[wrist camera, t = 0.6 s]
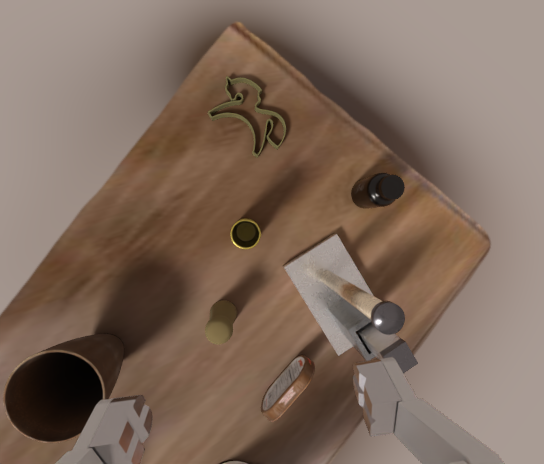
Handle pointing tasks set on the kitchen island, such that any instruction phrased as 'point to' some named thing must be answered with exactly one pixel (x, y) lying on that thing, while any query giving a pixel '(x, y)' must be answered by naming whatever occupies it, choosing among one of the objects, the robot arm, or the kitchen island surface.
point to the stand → (341, 296)
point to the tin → (287, 387)
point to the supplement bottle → (377, 190)
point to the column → (387, 346)
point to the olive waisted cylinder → (221, 322)
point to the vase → (245, 233)
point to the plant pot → (62, 387)
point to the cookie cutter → (239, 102)
